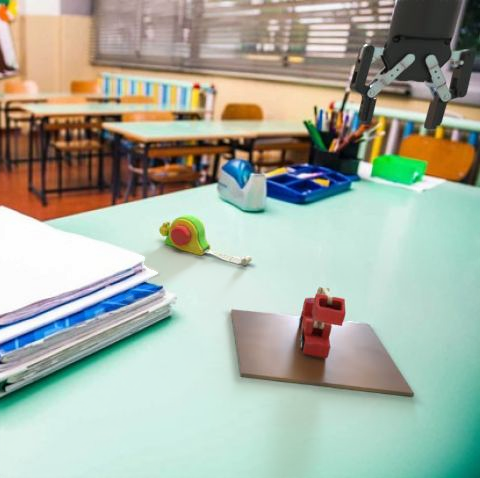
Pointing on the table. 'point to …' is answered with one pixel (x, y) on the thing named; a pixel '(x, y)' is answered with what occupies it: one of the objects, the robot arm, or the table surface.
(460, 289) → the table surface
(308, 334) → the toy fire truck
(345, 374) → the metal plate
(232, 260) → the toy measuring tape
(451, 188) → the table surface
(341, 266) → the table surface
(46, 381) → the table surface
